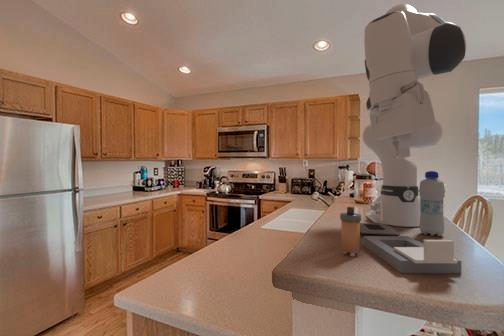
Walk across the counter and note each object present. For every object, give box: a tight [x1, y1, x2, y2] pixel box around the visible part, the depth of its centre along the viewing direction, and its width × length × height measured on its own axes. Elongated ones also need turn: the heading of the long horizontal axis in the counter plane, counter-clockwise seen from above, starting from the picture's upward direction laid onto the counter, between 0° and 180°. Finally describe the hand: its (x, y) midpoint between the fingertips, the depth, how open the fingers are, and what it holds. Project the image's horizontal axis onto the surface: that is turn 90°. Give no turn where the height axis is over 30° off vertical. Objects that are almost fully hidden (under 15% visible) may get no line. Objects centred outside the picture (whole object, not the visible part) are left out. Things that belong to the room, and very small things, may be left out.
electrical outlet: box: [360, 222, 401, 236], centre depth 81 cm, size 13×10×2 cm
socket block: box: [362, 235, 462, 274], centre depth 59 cm, size 18×12×2 cm, turn 179°
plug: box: [339, 206, 362, 258], centre depth 62 cm, size 5×5×12 cm
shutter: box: [394, 239, 457, 263], centre depth 52 cm, size 9×8×5 cm
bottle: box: [418, 170, 446, 237], centre depth 79 cm, size 7×7×20 cm
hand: (402, 157), depth 53 cm, fingers closed
